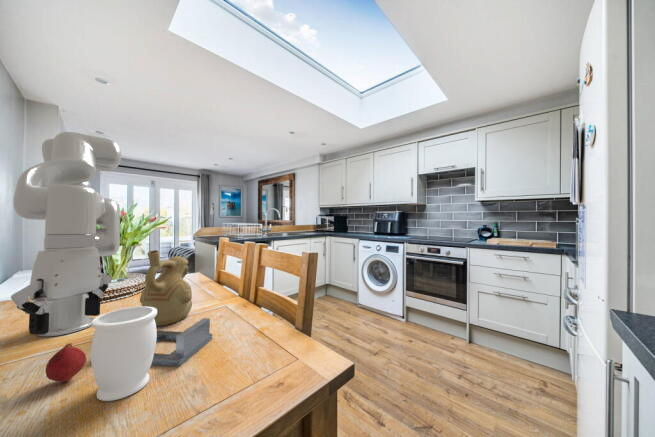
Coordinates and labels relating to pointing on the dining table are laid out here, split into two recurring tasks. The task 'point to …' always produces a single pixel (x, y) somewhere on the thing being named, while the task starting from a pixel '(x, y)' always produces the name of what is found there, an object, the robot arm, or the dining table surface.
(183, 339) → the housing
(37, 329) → the robot arm
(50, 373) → the onion
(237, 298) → the dining table surface
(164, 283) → the ceramic vessel
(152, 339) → the jar
